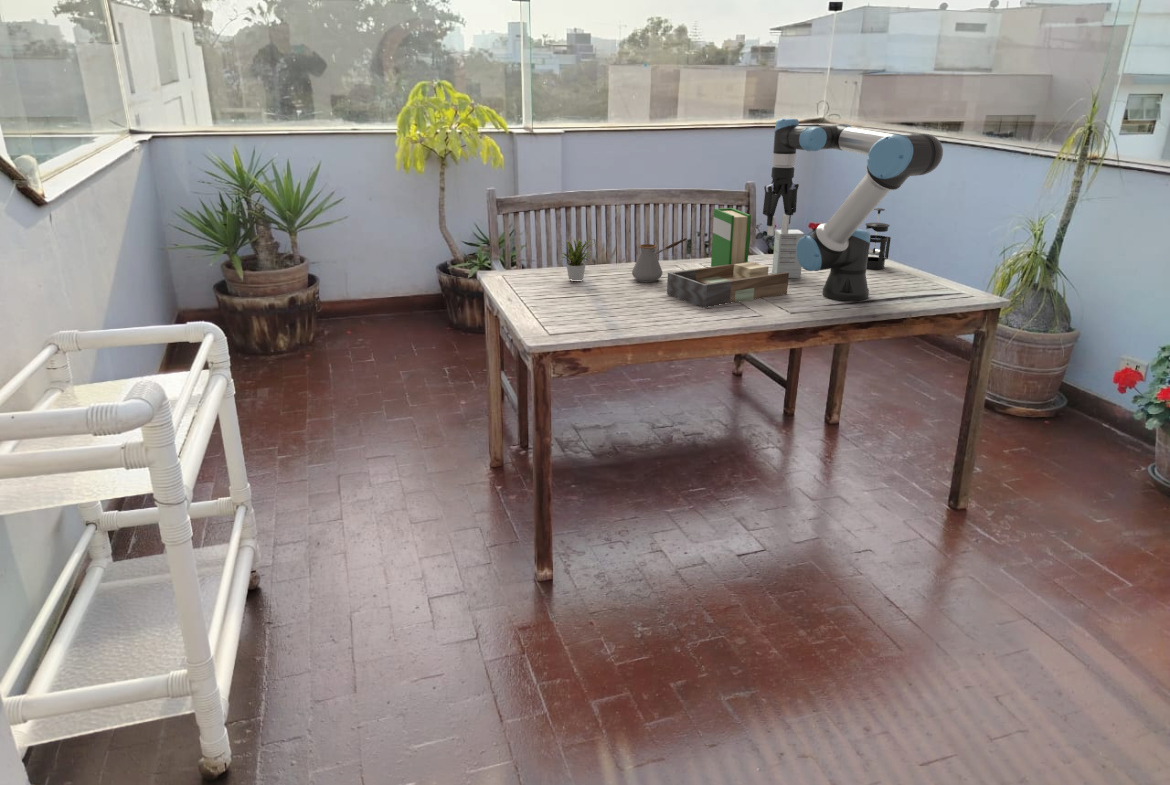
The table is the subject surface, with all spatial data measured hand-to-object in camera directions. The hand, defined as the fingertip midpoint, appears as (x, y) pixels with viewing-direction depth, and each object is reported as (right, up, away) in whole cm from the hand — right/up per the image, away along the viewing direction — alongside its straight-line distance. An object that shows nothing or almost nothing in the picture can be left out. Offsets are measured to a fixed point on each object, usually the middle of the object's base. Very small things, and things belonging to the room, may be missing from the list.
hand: (777, 234), depth 281 cm
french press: (+47, -6, +36) cm, 59 cm away
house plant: (-70, -14, +17) cm, 73 cm away
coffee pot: (-40, -13, +18) cm, 46 cm away
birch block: (-10, -16, 0) cm, 18 cm away
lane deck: (-18, -21, -3) cm, 28 cm away
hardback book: (-13, -11, +24) cm, 29 cm away
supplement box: (+9, -11, +23) cm, 27 cm away
